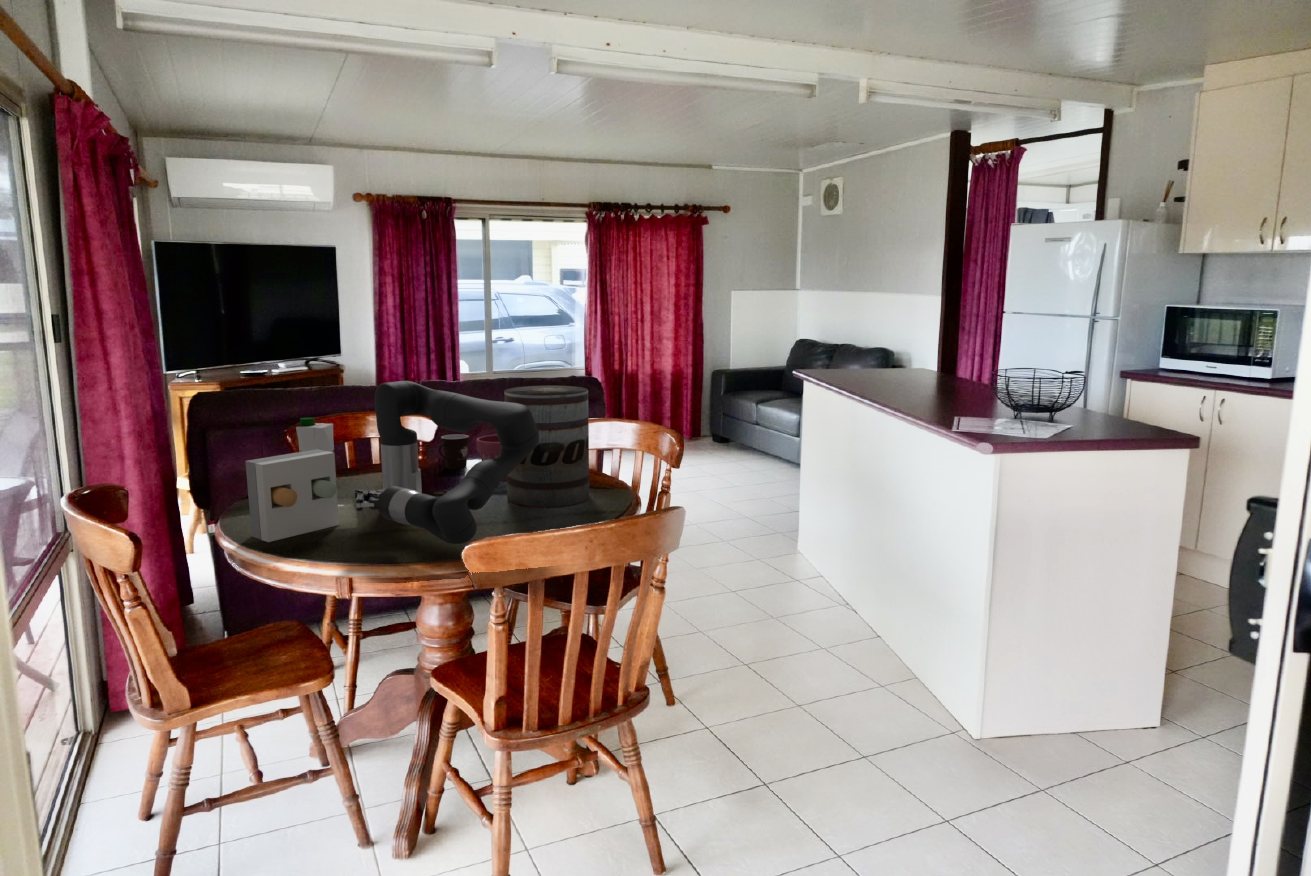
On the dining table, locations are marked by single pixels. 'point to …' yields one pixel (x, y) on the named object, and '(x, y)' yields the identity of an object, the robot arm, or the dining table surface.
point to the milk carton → (315, 435)
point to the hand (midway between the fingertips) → (357, 493)
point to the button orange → (283, 496)
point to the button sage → (323, 488)
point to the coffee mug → (455, 450)
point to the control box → (296, 476)
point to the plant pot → (489, 448)
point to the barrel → (553, 448)
